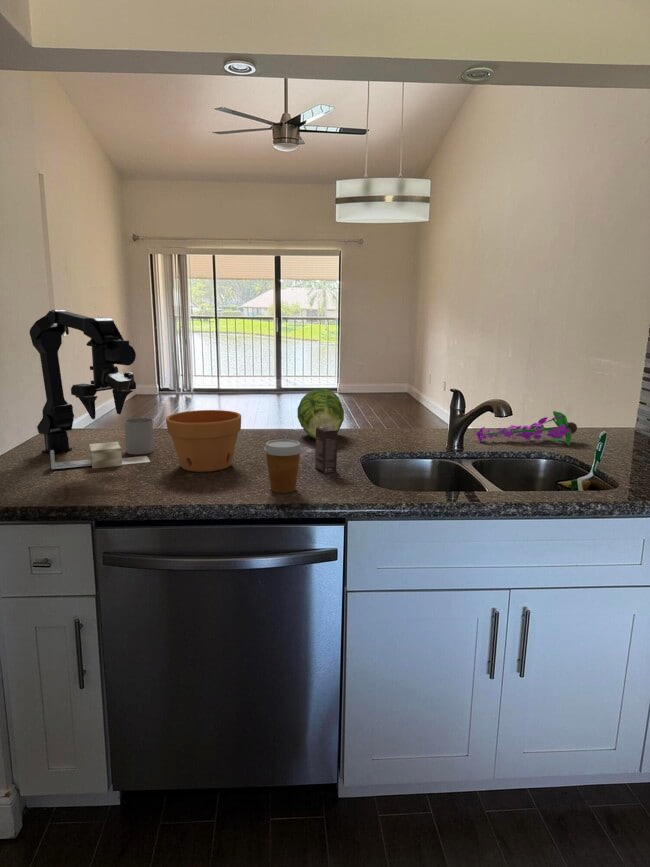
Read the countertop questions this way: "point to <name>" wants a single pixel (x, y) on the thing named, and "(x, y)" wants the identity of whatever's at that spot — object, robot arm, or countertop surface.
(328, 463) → the box
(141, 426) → the cup
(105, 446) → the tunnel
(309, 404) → the lettuce
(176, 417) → the flower pot
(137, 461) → the pad
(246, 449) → the countertop surface
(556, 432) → the purple flower
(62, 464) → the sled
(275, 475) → the disposable coffee cup
